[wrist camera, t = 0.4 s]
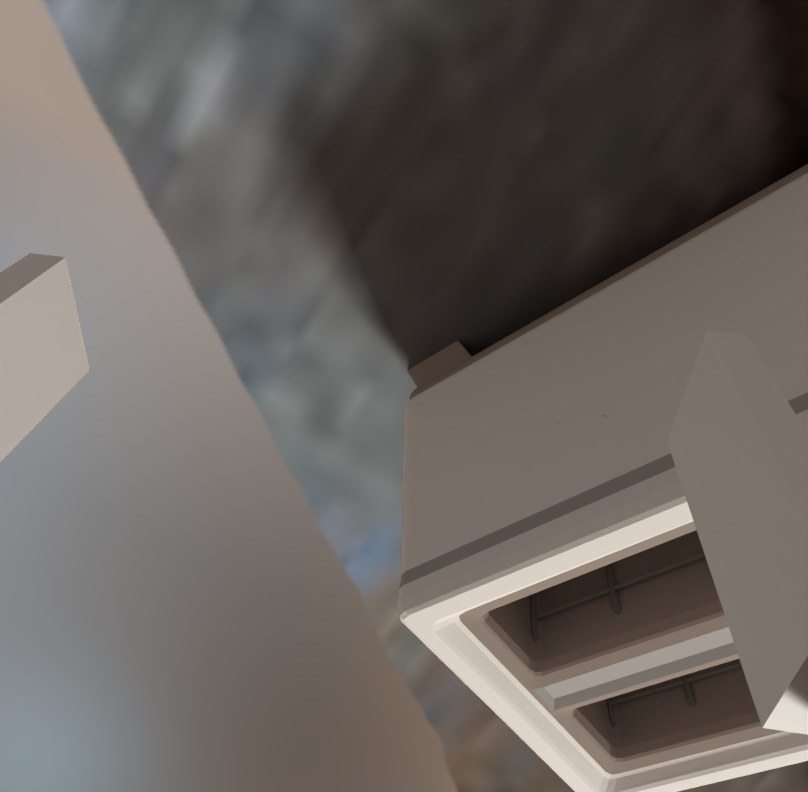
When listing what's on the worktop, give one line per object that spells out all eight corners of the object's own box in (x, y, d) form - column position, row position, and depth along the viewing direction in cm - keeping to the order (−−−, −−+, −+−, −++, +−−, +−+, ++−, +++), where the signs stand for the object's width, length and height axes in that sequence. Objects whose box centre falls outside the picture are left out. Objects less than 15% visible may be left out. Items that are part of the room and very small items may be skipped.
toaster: (1077, 331, 40) (1514, 619, 23) (554, 549, 54) (579, 829, 37) (982, 28, 33) (1516, 113, 15) (406, 369, 47) (351, 613, 29)
